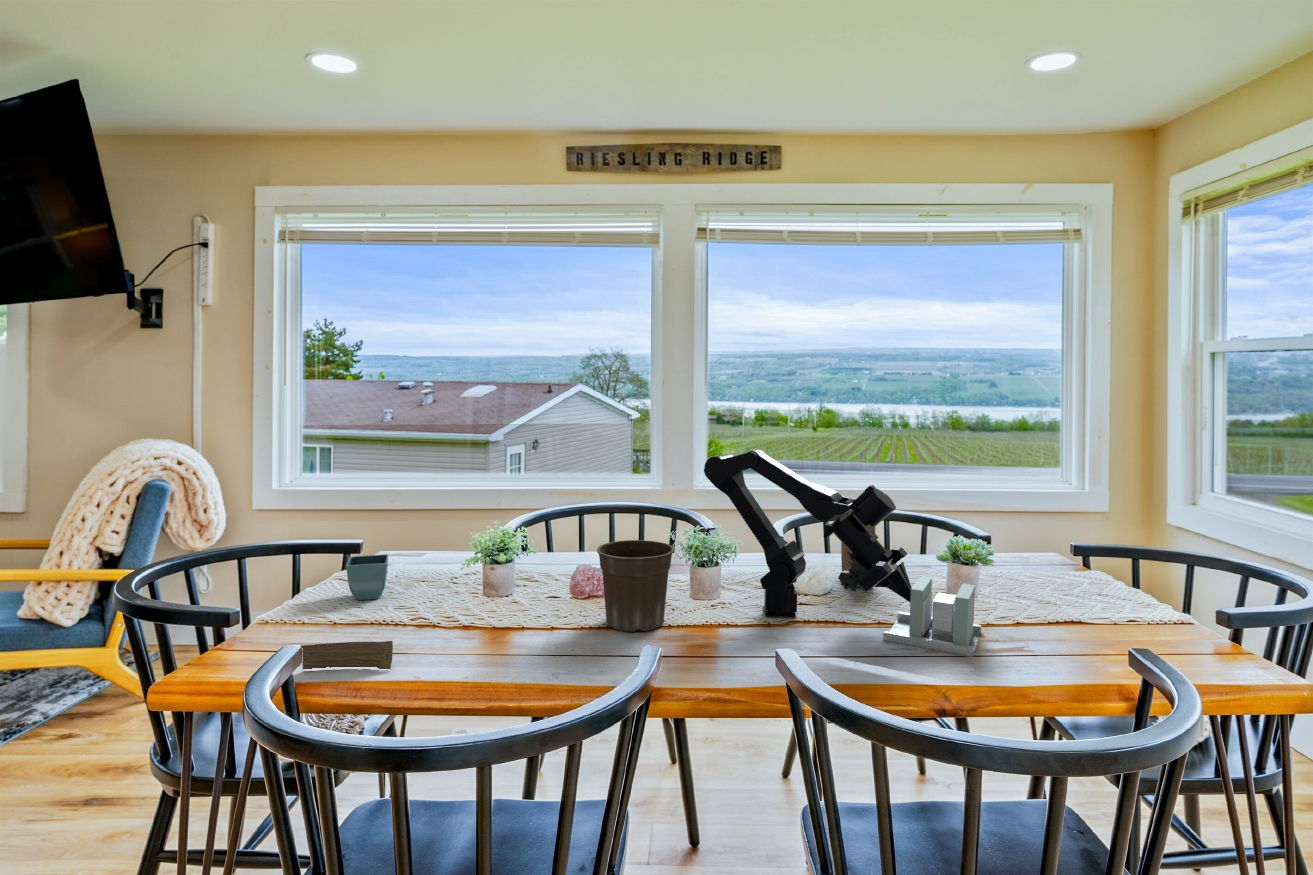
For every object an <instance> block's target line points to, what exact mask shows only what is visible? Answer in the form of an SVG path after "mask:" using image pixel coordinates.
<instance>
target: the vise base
mask: <svg viewBox="0 0 1313 875" xmlns="http://www.w3.org/2000/svg"><path fill="white" fill-rule="evenodd" d="M909 627H910V612H903V611H898V612H897V620H896V621H895V623H894V624H893V625H892V627H891V628H890V630H884V631H883V634H882V642H887V643H893V644H897V645H898V644H899V645H904V646H909V647H913V648H920V649H925V650H931V651H934V652H935V651H936V652H940V653H946V654H952V655H956V656H961V657H965V658H966V657H968V658H973V656H974V653H975V650H976V648H977V645H978V642H979V640H980V637H981V634H982V625H981V624H976V623H974V626H973V636H972V639H971V641H970V644H969V646H967V645H961V644H956V643H953V642H954V641H952V643H950V642H945V641H939V640H934V639H932V620H931V622H930V627H929V628H928V630H927V632H926V634H925V635H924V637H917V636H911V635H909Z"/></svg>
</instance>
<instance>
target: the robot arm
mask: <svg viewBox="0 0 1313 875" xmlns="http://www.w3.org/2000/svg"><path fill="white" fill-rule="evenodd" d="M749 469H750V470H753V471H754V472H755V473H757V474H759V475H760V476H762V477H763V478H765V479H766V480H768V481H770V482H771V483H773V484H775V485H776V486H778V487H779V488H780V489H782V490H783V491H785V492H786V493H788V494H790V495H791V496H793V497H794V498H795V499H796V500H798V502H799V503H800V505H801V506H802V507H803V509H804V510H806V511H807V513H809V515H811V516H812V517H814V519H816V520H818V521H820V522H821V521H822V522H824V521H829V520H831V519H833V518H834V517H836V516H839V517H837V518H836V519H835V520H834V521H832V523H824V524H823V529H824V531H823V538H824V539H827V538H828V537H830V536H832V535H833V534H834V535H835V537H836V538H837V539H838V540H839V541H840V542H842V543H843V544H844V545H845V547H846V548H847V549H849V548H850V547H851V548H850V549H849V551H850V552H851V553H852V554H850V555H849V556H850V559H851V560H852V561H853V564H852V566H851V567H850V568H849V571H842V570H841V572H840V574H839V575H838V577H837V579H838V580H839V582H840V583H841V584H840V585H841V586H843V589H845V590H848V589H849V590H851V591H852V592H854V593H856V592H857V590H859V589H862V591H863V592H864V593H867V592H868V591H869V590H871V589H872V588H887V589H888V590H890V591H892V592H893V593H895V594H897V595H898V596H899V597H901V598H903V599H904V600H906V601H907V602H909V603H910V599H911V588H912V587H913V586H912V585H911V584H912V583H911V582H910V579H909V576H908V572H907V569H906V566H905V562H904V561H902V562H901V563H899V561H900V560H902V559H904V558H905V557H906V556H907V555H908V552H907V551H906V550H905V549H904V548H903V547H902V546H896V545H895V546H894V547H893V548H892V549H886V548H885V547H884V546H883V545H882V544H881V542H880V541H879V540H878V539H879V538H880V537H879V536H878V534H876V533H875V534H874V535H872V534H871V533H870V532H869V531H868V529H867V528H866V527H865V526H869V525H871V526H873V527H875V528H876V527H877V526H878V525H879V524H880V523H881V522H883V520H884V519H886V518H887V517H888V516H889V515H891V514H892V513H893V512H894V511H895V510H896V509H897V507H896V506H897V505H896V504H895V503H894V501H893V499H891V497H890V496H889V495H888V494H887V493H884V492H883V491H882V490H881V489H878V488H877V487H876V486H875V485H873V484H870V485H868V487H866V488H865V489H864V491H863V492H862V493H861V494H860V495H859V496H858V497H857V498H851V497H847V496H842V495H841V493H839V492H838V491H836V490H835V489H832V488H829V487H827V486H825V485H822V484H819V483H815V482H812V481H809V480H807V479H806V478H804V477H802V476H801V475H799V474H797V473H796V472H794V471H793V470H791V469H790V468H788V467H787V466H785V465H783V464H782V463H780V462H779V461H777V460H775V459H773V458H772V457H771V456H769V455H768V454H766V453H765V452H764V451H763V450H761V449H752V450H750V451H747V452H745V453H741V454H738V455H732V454H730V453H729V454H728V453H724V454H720V455H719V454H718V455H715V456H710V457H709V458H708V459H707V460H706V461H705V463H704V467H703V473H704V476H705V477H706V479H708V480H709V482H710V483H711V484H712V485H713V486H714V487H715V488H716V489H717V490H719V491H720V492H722V493H723V494H725V495H726V496H727V497H728V498H729V500H730V501H731V503H732V504H733V506H734V507H735V509H736V511H738V512H737V513H738V514H739V515H740V516H741V517H742V519H743V521H744V522H745V524H746V526H747V527H748V529H749V530H750V531H751V533H752V534H753V536H754V537H755V539H756V540H757V542H758V543H759V545H760V546H761V548H762V550H763V553H764V558H765V562H766V565H767V567H768V570H769V571H768V572H767V573H766V574H765V575H763V576H762V577H761V578H760V579H759V581H760V584H761V587H762V589H763V590H764V592H763V593H764V596H763V598H764V599H763V600H764V602H763V603H764V604H763V606H762V609H763V613H764V616H765V617H766V618H792V619H793V618H796V617H797V616H796V613H797V612H798V593H797V591H796V590H795V588H796V587H795V585H794V584H795V583H797V580H798V578H800V577H801V576H802V575H803V574H804V573H805V571H806V566H807V563H806V560H805V556H806V554H805V553H804V552H802V551H801V549H800V548H799V546H798V544H797V542H796V541H795V540H791V541H789V542H788V541H786V540H785V539H784V538H782V537H781V535H780V534H779V532H778V531H777V529H776V528H775V526H774V525H773V523H772V522H771V521H770V519H769V518H768V516H767V514H766V513H765V511H764V509H762V507H761V506H760V505H759V502H758V501H757V500H756V499H755V497H754V495H753V493H752V492H751V490H749V488H748V487H747V485H746V482H745V477H744V472H743V471H747V470H749ZM851 509H852V510H853V512H852V513H851V514H850V515H848V516H847V517H844V516H843V514H844V513H846V512H847V511H849V510H851ZM864 525H865V526H864ZM868 532H869V533H868ZM897 563H899V564H897ZM860 587H861V588H860Z"/></svg>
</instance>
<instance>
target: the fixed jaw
mask: <svg viewBox="0 0 1313 875" xmlns="http://www.w3.org/2000/svg"><path fill="white" fill-rule="evenodd" d="M955 595H956V597H955V609H954V623H953V641H954V642H953V643H956V644H961V645H967V646H969V644H970V641H971V639H972V636H973V626H974V624H975V623H974V622H975V619H974V618H975V601H976V600H975V598H976V597H975V596H976V585H975V584H968V583H962V585H961V586H960V587H959V590H958V591H957V593H956V594H955Z"/></svg>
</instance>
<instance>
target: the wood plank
mask: <svg viewBox="0 0 1313 875" xmlns="http://www.w3.org/2000/svg"><path fill="white" fill-rule="evenodd" d="M301 647H302V648H303V659H302V664H301V665H302V670H303V669H312V668H326V667H330V668H331V667H377V668H379V669H391V667H392V664H393V651H394V645H393V640H388V641H387V640H385V641H345V642H342V641H341V642H331V643H330V642H329V643H316V644H315V643H314V644H307V645H306V644H305V645H300V648H301Z"/></svg>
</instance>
